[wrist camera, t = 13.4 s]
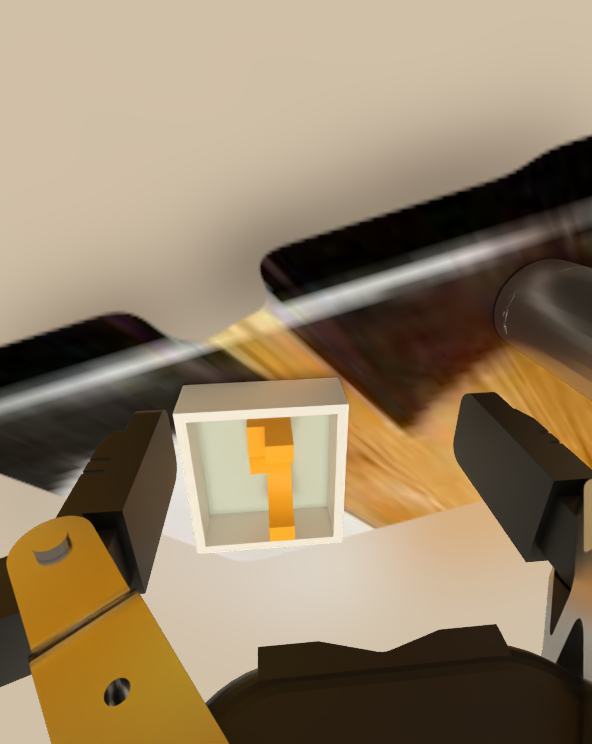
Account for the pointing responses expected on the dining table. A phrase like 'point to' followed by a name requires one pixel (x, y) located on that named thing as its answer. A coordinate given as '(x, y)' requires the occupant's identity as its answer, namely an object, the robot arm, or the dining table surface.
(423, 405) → the dining table surface
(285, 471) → the pipe clamp
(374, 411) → the dining table surface
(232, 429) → the walled box
